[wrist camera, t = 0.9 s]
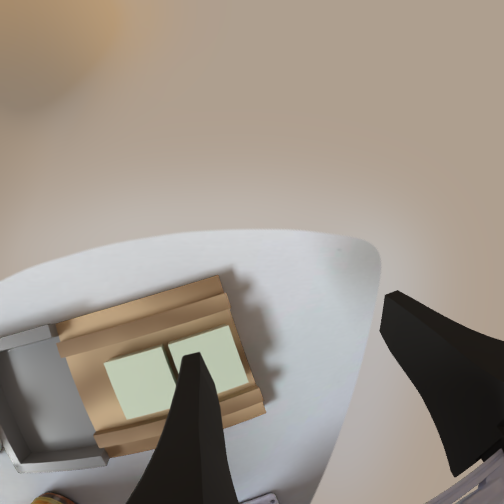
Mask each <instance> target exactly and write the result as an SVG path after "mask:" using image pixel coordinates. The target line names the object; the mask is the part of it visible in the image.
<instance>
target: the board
mask: <svg viewBox="0 0 504 504" xmlns="http://www.w3.org/2000/svg"><path fill="white" fill-rule="evenodd" d="M230 308H231V305H230V303H229V300H228V296H227V293H224V291H223V288H222V285H221V282H220V279H219V276H218V275H216V276H213V277H210V278H207V279H203V280H200V281H197V282H194V283H190V284H187V285H184V286H181V287H177V288H174V289H171V290H167V291H164V292H161V293H158V294H154V295H151V296H148V297H144V298H141V299H138V300H134V301H131V302H128V303H124V304H121V305H117V306H114V307H111V308H107V309H104V310H101V311H97V312H94V313H90V314H87V315H84V316H80V317H77V318H73V319H70V320H66V321H63V322H60V323H56V324H55V325H56V328H57V332H58V335H59V339H60V342H59V343H56V345H57V348H58V351H59V354H60V357H61V358H64V357H66V360H67V363H68V366H69V369H70V372H71V374H72V377H73V380H74V382H75V385H76V387H77V390H78V392H79V395H80V397H81V400H82V402H83V404H84V407H85V409H86V411H87V413H88V416H89V418H90V420H91V422H92V424H93V426H94V428H95V431H96V432H95V433H94V435H93V437H94V439H95V441H96V443H97V445H98V447H99V448H105V450H106V452H107V454H108V456H109V458H113V457H119V456H124V455H129V454H134V453H139V452H143V451H148V450H152V449H156V446H157V444H158V441H159V439H160V436H161V434H162V431H163V428H164V425H165V422H166V419H167V416H168V413H169V410H170V409H166V410H163V411H159V412H156V413H152V414H148V415H144V416H140V417H136V418H132V419H128V420H127V419H126V417H125V415H124V412H123V410H122V408H121V406H120V403H119V401H118V399H117V396H116V394H115V391H114V389H113V386H112V384H111V381H110V379H109V376H108V374H107V371H106V368H105V366H104V362H106V361H107V360H109V359H111V358H114V357H118V356H122V355H125V354H129V353H132V352H136V351H139V350H143V349H146V348H150V347H153V346H157V345H160V344H163V345H164V348H165V351H166V354H167V357H168V359H169V362H170V365H171V367H172V370H173V373H174V375H175V378H176V380H178V375H179V373H178V371H177V368H176V366H175V363H174V360H173V357H172V355H171V352H170V349H169V346H168V343H169V342H170V341H173V340H176V339H180V338H183V337H186V336H189V335H192V334H195V333H199V332H202V331H205V330H208V329H211V328H214V327H217V326H220V325H223V324H226V325H229V328H230V331H231V334H232V337H233V340H234V343H235V345H236V348H237V351H238V354H239V357H240V360H241V362H242V365H243V368H244V371H245V373H246V376H247V379H248V382H249V383H246V384H243V385H240V386H238V387H235V388H232V389H229V390H227V391H224V392H221V393H218V394H217V395H218V399H219V404H220V408H221V416H222V424H223V429H224V428H227V427H230V426H233V425H236V424H239V423H241V422H244V421H247V420H249V419H252V418H255V417H257V416H260V415H262V414H265V413H266V410H265V408H264V405H263V401H264V399H263V397H262V394H261V391H260V388H259V387H258V386H257V385H256V383H255V381H254V378H253V375H252V372H251V369H250V367H249V364H248V361H247V358H246V355H245V353H244V350H243V347H242V344H241V341H240V338H239V335H238V333H237V330H236V327H235V324H234V321H233V318H232V315H231V312H230Z"/></svg>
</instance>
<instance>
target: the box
mask: <svg viewBox="0 0 504 504" xmlns="http://www.w3.org/2000/svg"><path fill="white" fill-rule="evenodd" d="M59 342H60V339H59V335H58V332H57V328H56V325H55V324H48V325H44V326H41V327H37V328H34V329H30V330H27V331H23V332H20V333H16V334H13V335H9V336H6V337H2V338H0V440H1V442H2V444H3V446H4V448H5V450H6V452H7V454H8V456H9V457H10V459H11V461H12V463H13V465H14V466H15V468H16V470H17V472H18V473H42V472H58V471H70V470H80V469H88V468H95V467H102V466H107V463H108V461H109V459H110V458H109V456H108V454H107V452H106V450H105V448H99V447H98V445H97V443H96V441H95V439H94V437H93V435H94V433H95V432H96V431H95V428H94V426H93V424H92V422H91V420H90V418H89V416H88V413H87V411H86V409H85V407H84V404H83V402H82V400H81V397H80V395H79V392H78V390H77V387H76V385H75V382H74V380H73V377H72V374H71V372H70V369H69V366H68V363H67V360H66V357H64V358H61V357H60V354H59V351H58V348H57V345H56V343H59Z"/></svg>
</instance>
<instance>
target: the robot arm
mask: <svg viewBox="0 0 504 504" xmlns="http://www.w3.org/2000/svg"><path fill="white" fill-rule="evenodd" d="M380 333H381V335H382V337H383V339H384V340H385V343H386V344H387V346H388V348H389V350H390V352H391V353H392V354H393V356H394V357H395V359H396V360H397V362H398V363H399V365H400V366H401V367H402V369H403V370H404V372H405V373H406V374H407V376H408V377H409V378H410V380H411V382H412V383H413V384H414V386H415V387H416V389H417V390H418V392H419V393H420V395H421V397H422V399H423V400H424V402H425V404H426V406H427V408H428V410H429V412H430V414H431V417H432V419H433V421H434V423H435V425H436V428H437V430H438V432H439V435H440V438H441V440H442V443H443V446H444V449H445V452H446V456H447V459H448V462H449V466H450V470H451V472H452V474H453V476H454V477H457V476H458V475H459V474H461V473H462V472H464V471H465V470H466V469H468V468H469V467H471V466H472V465H473V464H475V463H476V462H477V461H478V460H480V459H482V460H483V462H484V463H482V464H481V465H480V466H479V467H477V468H476V469H475V470H474V471H472V472H471V473H470V474H468V475H467V476H466V477H464V478H463V479H462V480H460V481H459V482H457V483H456V484H455V485H453V486H452V487H450V488H449V489H447V490H446V491H444V492H442V493H441V494H439V495H438V496H436V497H435V498H433V499H431V500H430V501H428V502H426V503H425V504H452V503H453V502H455V501H456V500H458V499H459V498H460V497H462V496H463V495H465V494H466V493H467V492H469V491H470V490H471V489H472V488H474V487H475V486H476V485H478V484H479V485H478V489H477V490H475V491H474V492H472V493H470V494H469V495H467V496H466V497H464V498H463V499H461V500H460V501H458V502H457V503H456V504H504V341H501V340H498V339H495V338H492V337H489V336H486V335H484V334H481V333H479V332H476V331H474V330H471V329H469V328H467V327H465V326H463V325H461V324H459V323H457V322H454V321H453V320H451V319H449V318H447V317H444V316H443V315H441V314H439V313H437V312H436V311H434V310H432V309H430V308H429V307H426V306H425V305H423V304H421V303H420V302H418V301H416V300H414V299H413V298H411V297H409V296H407V295H405V294H403V293H402V292H400V291H398V290H397V291H394V292H392V293H389V294H386V295H385V299H384V306H383V313H382V319H381V325H380ZM271 500H274V501H271ZM126 504H239V503H238V500H237V496H236V493H235V489H234V486H233V482H232V478H231V475H230V471H229V466H228V461H227V455H226V448H225V440H224V432H223V424H222V416H221V408H220V404H219V399H218V395H217V391H216V386H215V383H214V381H213V379H212V377H211V374H210V372H209V370H208V368H207V366H206V364H205V362H204V359H203V357H202V355H201V353H200V352H197V353H192V354H188V355H184V356H183V357H182V359H181V365H180V370H179V375H178V380H177V384H176V388H175V392H174V395H173V399H172V403H171V406H170V410H169V413H168V416H167V419H166V422H165V425H164V428H163V431H162V434H161V436H160V439H159V441H158V444H157V446H156V449H155V451H154V453H153V455H152V458H151V460H150V462H149V464H148V466H147V468H146V470H145V472H144V474H143V476H142V478H141V479H140V481H139V483H138V485H137V486H136V488H135V489H134V491H133V493H132V494H131V496H130V498H129V499H128V501H127V502H126ZM242 504H279V502H278V500H277V498H276V496H275V494H273V493H270V494H267V495H264V496H261V497H259V498H256V499H253V500H250V501H247V502H245V503H242Z"/></svg>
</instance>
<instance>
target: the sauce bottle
mask: <svg viewBox="0 0 504 504" xmlns="http://www.w3.org/2000/svg"><path fill="white" fill-rule="evenodd" d="M31 504H75V503H74V502H73V501H71V500H70V499H68V498H66V497H64V496H61V495H58V494H54V493H50V492H49V493H44V494H42V495H40V496H39V497H38V498H35V499H34V501H33V502H32V503H31Z"/></svg>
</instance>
